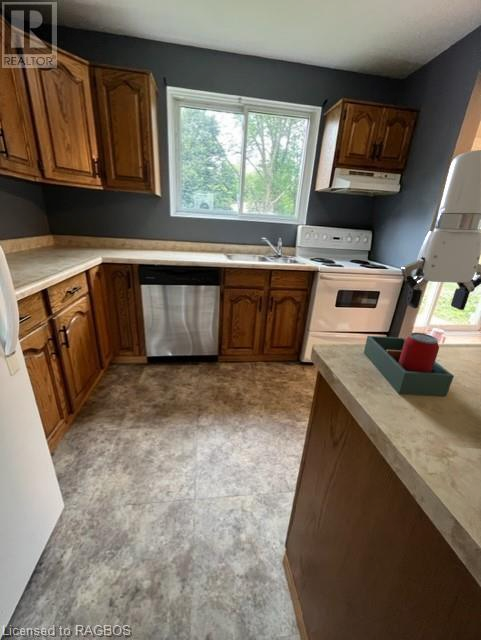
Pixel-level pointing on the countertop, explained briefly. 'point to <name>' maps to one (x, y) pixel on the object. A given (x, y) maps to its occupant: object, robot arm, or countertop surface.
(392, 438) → the countertop surface
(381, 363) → the open rectangular storage bin
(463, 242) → the robot arm
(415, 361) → the beverage can
